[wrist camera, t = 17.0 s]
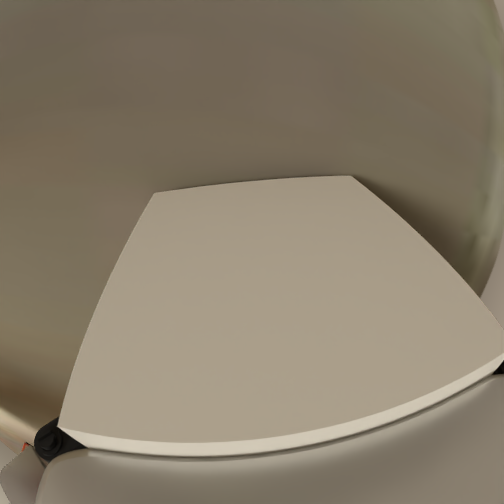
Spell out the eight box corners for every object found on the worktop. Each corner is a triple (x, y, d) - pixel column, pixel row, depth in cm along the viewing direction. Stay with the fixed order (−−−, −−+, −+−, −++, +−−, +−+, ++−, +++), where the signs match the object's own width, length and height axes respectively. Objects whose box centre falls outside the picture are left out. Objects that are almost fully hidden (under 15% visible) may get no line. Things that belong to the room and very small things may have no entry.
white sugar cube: (332, 313, 15) (389, 463, 7) (191, 330, 14) (187, 496, 7) (350, 175, 10) (514, 345, 3) (154, 193, 10) (57, 426, 3)
